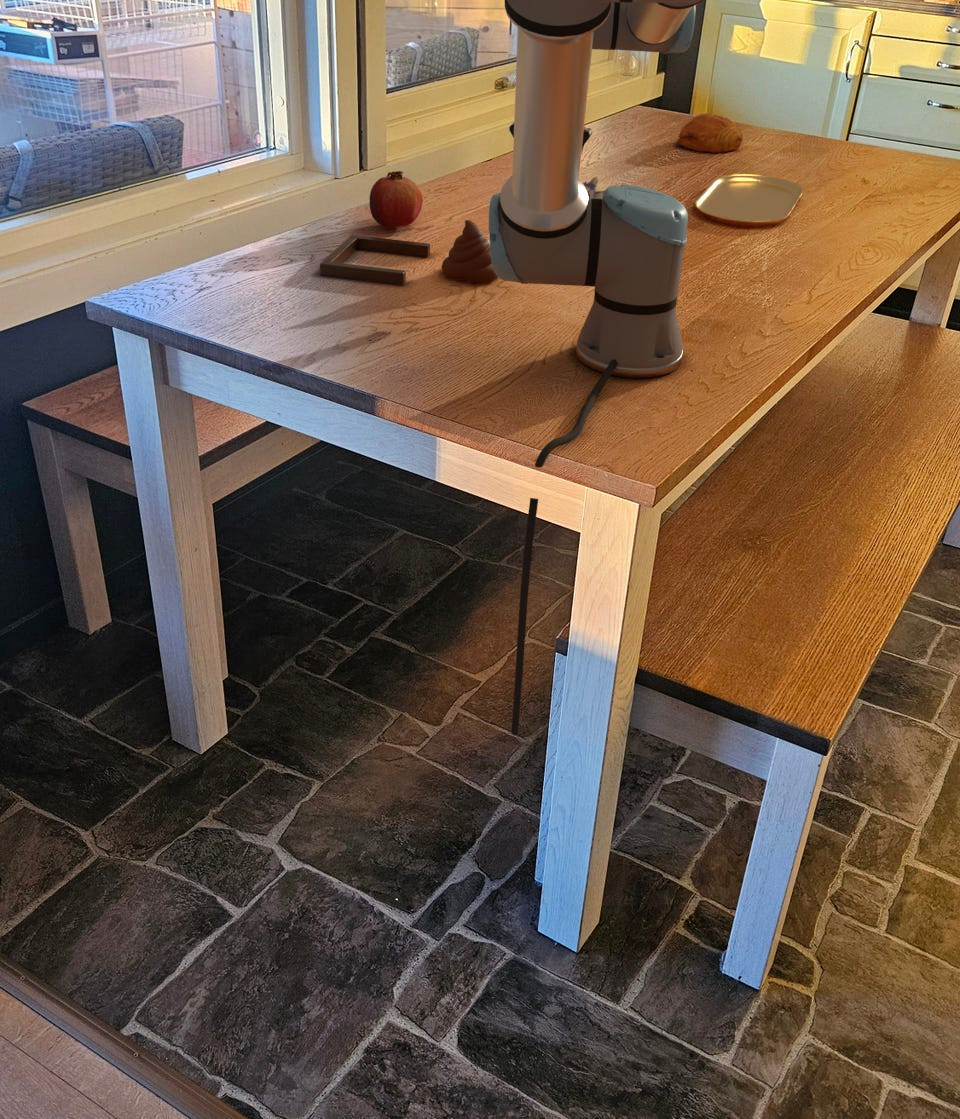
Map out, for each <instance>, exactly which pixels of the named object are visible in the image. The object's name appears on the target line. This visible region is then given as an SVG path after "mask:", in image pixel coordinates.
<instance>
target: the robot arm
mask: <svg viewBox="0 0 960 1119" xmlns="http://www.w3.org/2000/svg"><path fill="white" fill-rule="evenodd" d="M704 1H705V0H504V10H505V13H506V16H507V17H508V19H509V20H510V22H511V23H512V24H513V25H514V26H516V27H517V30H516V31H517V33H516V34H517V35H516V59H515V60H516V61H515V62H516V63H515V64H516V65H515V88H514V121H513V123H511V124H510V125H509V128H508V130H509V132H510V134H511V136H512V138H513V145H512V146H513V147H512V172H511V174H512V175H511V176H509V177H508V178H507V179H506V181H505V182H504V184H503V185H502V188H501V190H500V192H498V193H494V194H493V195H492V196H491V198H490V200H489V207H488V233H489V234H488V235H489V242H490V254H491V261H492V266H493V269H494V272H495V274H496V275H497V276H498V279H500V280H502V281H504V282H511V283H519V284H521V285H529V284H531V285H554V286H574V287H575V286H577V287H594V295H593V302H592V305H591V308H590V309H589V312H588V313H587V316H586V318H585V321H584V323H583V325H582V327H581V329H580V332H579V334H578V337H577V341H576V351H575V352H576V357H577V359H578V360H579V361H580V362H581V363H582V364H584V365H585V366H587V367H588V368H590V369H592V370H594V371H597V372H600V373H602V374H601V376H600V378H599V379H598V380H597V383H596V384H595V386H594V387H593V389H592V390H591V392H590V394H589V396H587V397H588V398H587V400H586V401H585V403H584V405H583V408H581V411H580V413H579V415H578V418H577V421H576V423H575V425H574V427H573V428H572V429H571V431H570V432H568V433H567V434H565V435H562V436H558V437H556V438H554V439H552V440H551V441H549V442H548V443H547V444H545V446H544V447H543V448H542V450H541V451H540V452H539V454H538V456H537V458H536V461H535V463H534V466H535V468H542V467H544V465H545V462H546V460H547V459H548V457H549V456H550V454H551V452H553V450H555V448H556V449H557V448H558V447H560V446H563V445H566V444H569V443H570V442H572V441H574V440H575V439H576V438H577V437H578V436H579V435H580V433H581V432H582V430H583V428H584V427H585V424H586V422H587V418H588V417H589V415H590V412H591V410H592V408H593V406H594V404H595V403H596V400H597V399H598V397H599V394H600V393H601V392H602V390H603V389H604V387H605V385H606V383H607V382H608V380H609V378H610V377H611V376H616V377H620V378H621V377H622V378H632V379H633V378H634V379H635V378H636V379H643V378H654V377H660V376H664V375H667V374H670V373H672V372H674V371H676V370H677V369H678V368H679V367H681V366H680V365H681V364H682V360H683V354H684V353H683V352H684V350H683V348H684V346H683V340H682V335H681V330H680V324H679V319H678V314H677V305H678V296H679V289H680V281H681V276H682V275H681V274H682V268H683V260H684V254H685V246H686V245H687V244H688V237H687V234H688V222H689V220H688V219H689V215H688V211H687V209H686V207H685V206H684V204H683V203H682V202H681V201H680V200H678V199H676V198H675V197H673V196H671V195H670V194H667V193H664V192H661V191H659V190H656V189H653V188H648V187H643V186H639V185H638V186H637V185H630V184H621V185H615V184H614V185H611V186H608V187H606V188H605V190H604V191H605V192H604V194H603V199H594V198H588V193H587V190H586V188H585V186H584V184H583V183H584V182H582V180H581V179H580V171H581V161H582V154H583V150H584V147H585V145H586V143H587V142H588V140H589V139H591V136H592V135H593V130H592V128H590V127H586V126H585V122H586V120H585V119H586V112H587V103H588V102H587V101H588V93H589V82H590V73H591V65H592V64H591V63H592V54H593V53H592V52H593V50H600V51H601V50H602V51H630V52H645V53H659V54H663V55H666V54H669V53H670V54H671V53H673V54H675V53H676V54H678V53H685V52H687V51H688V50H689V49H690V47H691V43H692V39H693V35H694V30H695V24H696V23H695V22H696V13H697V11H696V10H697V8H696V7H697V5H699V4H701V3H703V2H704ZM538 505H539V498H534V497H530V498H529V506H528V512H527V513H528V514H527V520H526V528H525V539H524V549H523V556H522V558H523V559H522V569H521V580H520V594H519V605H518V606H519V608H518V620H517V621H518V624H517V638H516V641H517V642H516V656H515V673H514V690H513V704H512V705H513V706H512V716H511V717H512V719H511V730H510V731H511V732H510V733H511V735H512V736H517V735H519V731H520V730H519V729H520V717H521V703H522V690H523V689H522V688H523V677H524V676H523V675H524V662H525V661H524V658H525V644H526V643H525V642H526V630H527V629H526V628H527V616H528V615H527V613H528V600H529V588H530V577H531V576H530V575H531V565H532V556H533V546H534V537H535V529H536V520H537V512H538Z"/></svg>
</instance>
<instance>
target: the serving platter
mask: <svg viewBox="0 0 960 1119" xmlns="http://www.w3.org/2000/svg"><path fill="white" fill-rule="evenodd" d="M803 193H804V189H803V188H802V187H801V185H799V184H797V183H795V182H792V181H790V180H787V179H784V178H779V177H775V176H771V175H770V176H769V175H762V174H745V173H743V174H741V173H740V174H728V175H722V176H720V177H717V178H715V179H714V180H713V181H712V182H711V183H710V185H708V187H707V188H706V189H705V190H704V191H703V192H702V193H701V194H700V195H699V197H698V198H697V199H696V200H695V202H694V206H695V208H696V210H697V212H699V213H700V214H701V215H702V216H704V217H706V218H707V219H709V220H711V221H715V222H718V223H721V224H725V225H731V226H735V227H736V226H738V227H747V228H748V227H749V228H750V227H753V228H754V227H755V228H757V227H758V228H759V227H766V226H767V227H768V226H774V225H776V224H779V223H780V224H781V223H782V222H783V221H785V220H786V219H788V218H789V216H790V215H791V213H792V212H793V210H794V209H795V207H796V205H797V204H798V202H799V200H800V199H801V197H802V196H803Z"/></svg>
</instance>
